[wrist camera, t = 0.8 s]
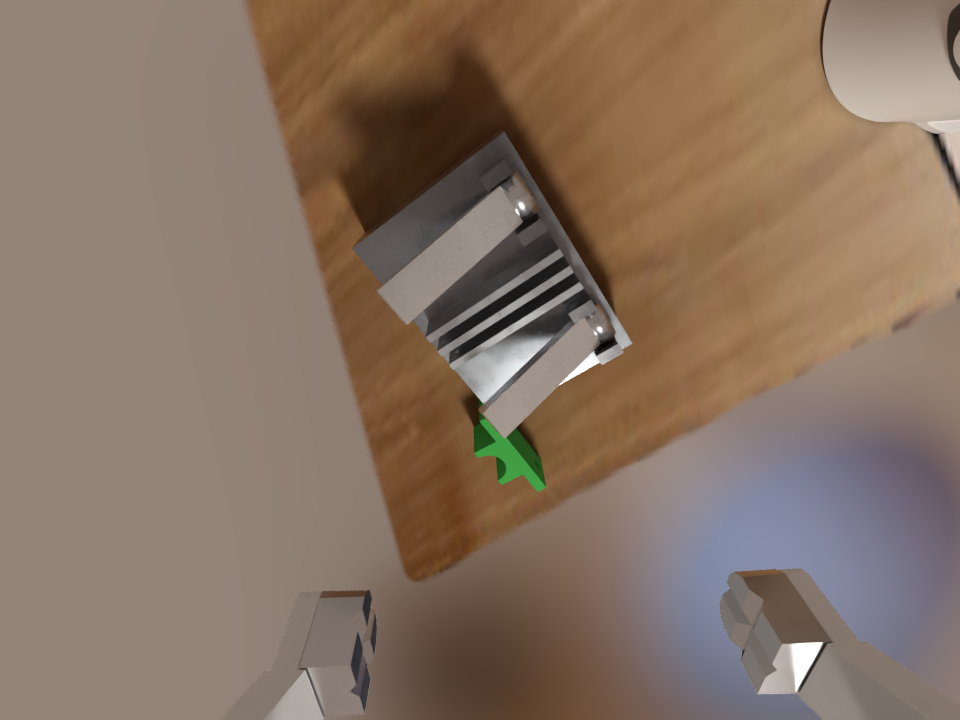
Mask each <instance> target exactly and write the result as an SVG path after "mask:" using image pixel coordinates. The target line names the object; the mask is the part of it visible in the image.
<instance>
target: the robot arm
mask: <svg viewBox="0 0 960 720" xmlns="http://www.w3.org/2000/svg"><path fill="white" fill-rule="evenodd" d="M823 62H824V69H825V73H826V77H827V80H828V83H829V85H830V88H831V90H832V91H833V93H834V95H835V96H836V98H837V99H838V101H839V102H840V103H841V104H842V105H843V106H844V107H845V108H846V109H848V110H849V111H850V112H852V113H853V114H855V115H857V116H859V117H861V118H864V119H867V120H871V121H877V122H912V123H914V124H916V125H917V126H919V127H921V128H923V129H925V130H927V131H929V132H932V133H936V134H941V133H952V132H955V131H958V130H959V129H960V0H831V2H830V5H829V9H828V13H827V17H826V21H825V27H824V34H823ZM727 583H728V585H729V587H730V589H729V590H728V591H727V592H725V593H724V594H723V595H722V598H721V601H720V614H721V619H722V622H723V625H724V628H725V630H726V632H727V634H728V637H729V638H730V640H731V641H732V642H733V643H735V644H736V645H737V646H738V647H740V648H741V649H742V655H741V662H742V664H743V666H744V668H745V670H746V672H747V674H748V676H749V678H750V680H751V682H752V684H753V686H754V688H755V690H756V692H757V694H784V693H785V694H788V693H799V694H798V696H799V697H800V698H801V699H802V700H803V701H804V702H805V703H806V704H807V705H808V706H809V707H810V708H811V709H812V710H813V711H814V712H816V714H817V715H819V716H820V717H821V718H822V719H823V720H960V705H959V704H957V703H956V702H954V701H953V700H951V699H950V698H948V697H947V696H945V695H944V694H942V693H941V692H939V691H938V690H937V689H935V688H934V687H932V686H931V685H929V684H928V683H926V682H925V681H923V680H922V679H920V678H919V677H918V676H916V675H914V674H913V673H912V672H910V671H909V670H907V669H906V668H904V667H903V666H901V665H900V664H898V663H897V662H895V661H894V660H892V659H891V658H890V657H888V656H887V655H885V654H884V653H882V652H881V651H879V650H878V649H876V648H875V647H874V646H872V645H870V644H869V643H868V642H859V641H858V639H857V638H856V636H855V635H854V634H853V633H852V631H851V630H850V629H849V627H848V626H847V625H846V623H845V622H844V621H843V619H842V618H841V617H840V615H839V614H838V613H837V611H836V610H835V609H834V607H833V606H832V605H831V604H830V602H829V601H828V599H827V598H826V597H825V595H824V594H823V593H822V592H821V590H820V589H819V587H818V586H817V585H816V583H815V582H814V581H813V579H812V578H811V577H810V576H809V574H808V573H807V572H805V571H804V570H802V569H783V570H776V569H771V570H756V571H742V572H733V573H732V574H730V575H729V577H728V580H727ZM371 603H372V596H371V592H370V590H345V591H312V592H301V593H300V594H299V596H298V597H297V599H296V600H295V603H294V606H293V609H292V612H291V615H290V618H289V620H288V623H287V626H286V630H285V632H284V635H283V638H282V641H281V644H280V647H279V650H278V653H277V656H276V658H275V661H274V664H273V667H272V670H271V671H265V672H263V673H262V674H261V675H260V676H259V677H258V678H257V680H256V681H255V682H254V683H253V684H252V685H251V686H250V687H249V688H248V689H247V690H246V692H244V694H243V695H242V696H241V697H240V698H239V699H238V700H237V701H236V702H235V703H234V704H233V705H232V706H231V707H230V709H228V711H227V712H226V713H225V714H224V715H223V716H222V717H221V718H220V719H219V720H324V718H323V717H334V716H347V715H360V714H365V708H366V702H367V697H368V691H369V685H370V675H369V671H368V667H367V665H368V664H369V663H370V661H371V660H372V659H373V658H374V655H375V647H376V637H377V619H376V614H375V611H374V610H372V609H371Z"/></svg>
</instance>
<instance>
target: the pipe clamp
mask: <svg viewBox="0 0 960 720" xmlns="http://www.w3.org/2000/svg"><path fill="white" fill-rule="evenodd" d="M482 405H483V403H482V401H481V400H480V399H479V408H480V407H481V406H482ZM479 419H480V424H478V425H476V426H474V453H475V455H476V456H477V457H478V458H479V457H481V456H486V455H491V456H496V462H497V475H498V481H499V482H500V484H501V485H502V484H504V483H506V482H508V481H510V480H512V479H515V478H517V477H519V476H521V475H524V476H525V477H526V479H527V480H528V481H529V482H530V484H531V485H532V486H533V487H534V488H535V490H536V491H537V492H538V491H540V490H542V489H544V488H546V483H545V478H544V473H543V468H542V463H541V459H540V458H539V457H538V455H537V454H536V453H535V451H534V450H533V449H532V448H531V446H530V445H529V444H528V442H527V441H526V440H525V439H524V437H523V436H522V435H521V433H520V432H519V431H518V430H517V428H515V429H514V430H513V431H512V432H511V433H510V434H509V435H508V436H507V437H506V438H505V439H504V438H503V437H502V436H501V435H499V434H498V432H497V431H496V430H495V429H494V428H493V427H492V425H491V424H490V423H489V422H488V421H487V420H486V418H485V417H484V416H483V415H482V414H481V413H480V411H479Z"/></svg>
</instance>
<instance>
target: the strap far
mask: <svg viewBox="0 0 960 720" xmlns="http://www.w3.org/2000/svg"><path fill="white" fill-rule="evenodd" d="M593 304H594V305H595V307H596V309H597V310H596V311H594V312H593V313H591V314H589V315H588V316H586V317H584V318H583V319H581V320H579V321H578V322H576V323H574V322H573V320H572V319H571V320H570V321H569V322H568V323H567V324H566V325H565V326H564V327H563V328H562V329H561V330H560V331H559V332H558V333H557V334H556V335H555V336H554V337H553V338H552V339H551V340H550V341H548V342H547V343H546V344H545V345H544V346H543V347H542V348H541V349H540V350H539V351H538V352H537V353H536V354H535V355H534V356H533V357H532V358H531V359H530V360H529V361H528V362H527V363H526V364H525V365H524V366H522V367H521V368H520V369H519V370H518V371H517V372H516V373H515V374H514V375H513V376H512V377H511V378H510V379H509V380H508V381H507V382H506V383H505V384H504V385H503V386H502V387H501V388H500V389H499V390H497V391H496V392H495V393H494V394H493V395H492V396H491V397H490V398H489V399H488V400H487V401H486V402H485V403H484V404H483V405H482V406H481V407H480V408H479V409H478V410H479V411H480V413H481V414H482V415H483V416H484V417H485V418H486V420H487V421H488V422H489V423H490V424H491V425H492V427H493V428H494V429H495V430H496V431H497V432H498V434H499V435H501V436H502V437H503V438H504V439H505V438H506V437H507V436H508V435H509V434H510V433H511V432H512V431H513V430H514V429H515V428H516V427H517V426H518V425H519V424H520V423H521V422H522V421H523V420H524V419H525V418H526V417H527V416H528V415H529V414H530V413H531V412H532V411H533V410H534V409H535V408H536V407H537V406H538V405H539V404H540V403H541V402H542V401H544V400H545V399H546V398H547V397H548V396H549V395H550V394H551V393H552V392H553V391H554V390H555V389H556V388H557V387H558V386H559V385H560V384H561V383H562V382H563V381H564V380H565V379H566V378H567V377H568V376H569V375H570V374H571V373H572V372H573V371H574V370H575V369H576V368H577V367H578V366H579V365H580V364H581V363H582V362H583V361H584V360H585V359H586V358H587V357H588V356H589V355H590V354H591V353H592V352H593V351H594V350H595V349H596V348H597V347H598V346H599V345H600V344H602V343H605V342H608V341H609V340H611V339H612V338H613V337H614V336H615V334H616V331H615V329H614V327H613V326H612V324H611V322H610V321H609V319H608V318H607V316H606V314H605V313H604V311H603V309H602V308H601V306H600V305H599V303H598V302H593Z"/></svg>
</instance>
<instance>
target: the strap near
mask: <svg viewBox="0 0 960 720" xmlns="http://www.w3.org/2000/svg"><path fill="white" fill-rule="evenodd" d="M539 210H540V207H539V205H538V204H537V202H536V200H535V199H534V197H533V195H532V194H531V192H530V191H529V189H528V187H527V186H526V184H525V182H524V181H523V179H522V178H521V176H520V174H519V173H518V171H515V172H513V173H512V174H511V175H510V176H508V177H507V178H505V179H504V180H503V181H501V182H500V183H499V184H497V185H496V186H495V187H494V188H493V189H492V190H491V191H489V192H488V193H487V194H486V195H485V196H484V197H482V198H481V199H480V200H479V201H478V202H477V203H475V204H474V205H473V206H472V207H471V208H470V209H468V210H467V211H466V212H465V213H464V214H463V215H461V216H460V217H459V218H458V219H457V220H456V221H454V222H453V223H452V224H451V225H450V226H449V227H447V228H446V229H445V230H444V231H443V232H442V233H440V234H439V235H438V236H437V237H436V238H435V239H433V240H432V241H431V242H430V243H429V244H428V245H426V246H425V247H424V248H423V249H422V250H421V251H419V252H418V253H417V254H416V255H415V256H414V257H412V258H411V259H410V260H409V261H408V262H407V263H405V264H404V265H403V266H402V267H401V268H400V269H398V270H397V271H396V272H395V273H394V274H393V275H391V276H390V277H389V278H388V279H387V280H386V281H384V282H383V283H382V284H381V285H380V286H379V287H377V288H376V289H375V291H376V292H377V293H378V294H379V295H380V296H381V298H382V299H383V300H384V301H385V302H386V303H387V305H388V306H389V307H390V308H391V309H392V310H393V312H394V313H395V314H396V315H397V316H398V317H399V319H400V320H401V321H402V322H403V323H404V324H406V325H408V324H409V323H410V322H411V321H412V320H413V319H414V318H416V317H417V316H418V315H419V314H420V313H421V312H422V311H423V310H425V309H426V308H427V307H428V306H429V305H430V304H431V303H432V302H434V301H435V300H436V299H437V298H438V297H439V296H440V295H441V294H443V293H444V292H445V291H446V290H447V289H448V288H449V287H450V286H452V285H453V284H454V283H455V282H456V281H457V280H458V279H459V278H461V277H462V276H463V275H464V274H465V273H466V272H467V271H468V270H470V269H471V268H472V267H473V266H474V265H475V264H476V263H477V262H479V261H480V260H481V259H482V258H483V257H484V256H485V255H486V254H488V253H489V252H490V251H491V250H492V249H493V248H494V247H496V246H497V245H498V244H499V243H500V242H501V241H502V240H503V239H505V238H506V237H507V236H508V235H509V234H510V233H511V232H512V231H514V230H515V229H516V228H517V227H518V226H519V225H520V224H521V223H523V222H524V221H526V220H528V219H530V218H531V217H532V216H534V215H535V214H536V213H537V212H538V211H539Z"/></svg>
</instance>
